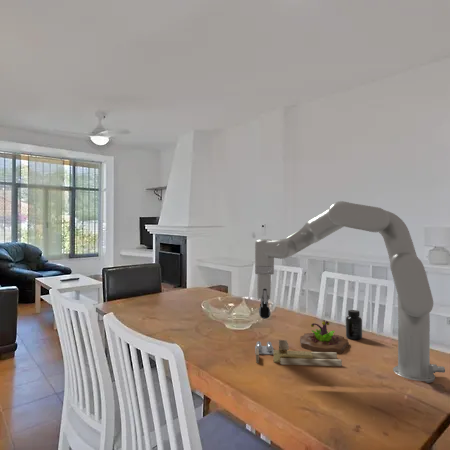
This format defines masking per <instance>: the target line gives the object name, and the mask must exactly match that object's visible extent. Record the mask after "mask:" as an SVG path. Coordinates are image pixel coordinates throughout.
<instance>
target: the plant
mask: <svg viewBox="0 0 450 450" xmlns="http://www.w3.org/2000/svg"><path fill="white" fill-rule="evenodd" d="M321 325H322V326H321ZM321 325H320V324H318V323H316V322H315V323H311V324H310V326H311V328H314V327H315V326H317V327H318V328H319V329H318V328H315V330H311V332H309V333H304V335H301V336H300V337H299V342H300V347H301V348H303V349H306V350H309V351H310V352H336V353H337V355H338V354H343V353H344V351H345V350H346V349H347V348H349V347H350V346H349V345H350V343H349V341H348V338H345V337H344V336H343V335H338V334H334V333H335V332H336V331H335V330H331V331H328V329H327V326H330V322H329V321H327V320H326V321H325V319H323V320H322V321H321Z"/></svg>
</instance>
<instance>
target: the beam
mask: <svg viewBox="0 0 450 450" xmlns="http://www.w3.org/2000/svg"><path fill="white" fill-rule="evenodd" d="M289 349H290V346H289V343H288V340H287V339H278V350H287V351H290V350H289ZM311 352H312V355H313V359H306V358H280V365H290V366H291V365H292V366H293V365H294V366H327V367H328V366H329V367H330V366H331V367H342V366H343V361H342V359H341V358H340V359H338V353H336V352H315V351H311ZM255 363H257V364H259V363H260V354H259V349H256V354H255Z"/></svg>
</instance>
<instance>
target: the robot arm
mask: <svg viewBox="0 0 450 450" xmlns="http://www.w3.org/2000/svg"><path fill="white" fill-rule="evenodd" d="M344 227H345V228H350V229H356V230H360V231H366V232H371V233H379V234H380V235H381V236H382V239H383V241H384V246H385V248H386V251H387V254H388V259H389V265H390V266H389V267H390V271H391V274H392V279H393V282H394V285H395V289H396V290H395V291H396V294H397V316H398V317H397V319H398V321H397V323H398V324H397V327H398V328H397V341H398V342H397V352H398V353H397V365H395V366H394V367H393V368H392V371H393V372H394V373H395V374H396V375H398V376H400V377H402V378H404V379H407V380H412V381H417V382H425V383H427V384H430V383H433V382H434V381H435V380H436V377H435V374H436V373H445V372H446V368H445V367H444V366H439V365H437V364H436V363H435V364H432V363H430V362H431V361H430V360H431V359H430V357H431V354H430V353H431V352H430V347H431V346H430V344H431V341H430V340H431V339H430V338H431V337H430V336H431V334H430V331H431V330H430V329H431V327H430V326H431V325H430V324H431V320H430V319H431V318H430V313H431V312H432V310H433V307H434V298H433V297H434V296H433V294H432V291H431V287H430V283H429V280H428V276H427V272H426V270H425V266H424V264H423V262H422V260H421V259H420V258H419V257H418V255H417V252H416V250H415V249H416V248H415V245H414V242H413V239H412V236H411V233H410V230H409V228H408V226H407V224H406V223H405V222H404V220H403V219H402V218H400V216H398V215H396V213H393V212H391V211H389V210H385V209H384V208H381V207H377V206H371V205H366V204H359V203H353V202H349V201H343V200H340V201H336V202H333V204H331V205H330V207H329V208H328V209H326V210H324V211H323V212H321V213H319V214H318V215H316V216H315V217H313V218H311V219H309V220H308V221H307V222H305V224H303V226H302V227H300V229H299V230H297V231H296V232H293V233H292V234H291V235H289V236H288V237H285V238H282V239H273V240H272V239H269V238H267V239H266V238H265V239H263V238H262V239H260V238H259V239H256V241H255V243H254V259H255V261H254V270H255V271H254V273H255V275H257V281H256V282H257V283H256V284H257V285H256V289H257V291H256V294H257V295H256V297H257V300H260V304H259V307H260V306H261V317H263V318H267V319H269V318H270V317H269V309H270V307H269V300H270V299H271V294H272V293H271V289H272V276H273V275H275V259H279V260H284V259H287V258H290V257H292V256H294V255H296V254H298V253H299V252H301V251H303V250H304V249H306V248H308V247H310V246H311V245H313V244H316V243H318V242H320V241H321V240H323V239H325V238H327V237H328V236H330V235H332V234H333V233H335V232H337V231H339V230H341V229H342V228H344ZM261 317H260V318H261ZM268 317H269V318H268ZM263 318H262V319H263Z"/></svg>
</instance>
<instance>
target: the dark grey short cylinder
mask: <svg viewBox="0 0 450 450" xmlns="http://www.w3.org/2000/svg"><path fill="white" fill-rule="evenodd" d="M258 314H259V316H260V318H262V320H263V319H264V320H265V319H269V318H270V316H271V309H270V308H269V317H268V318H263V317H261V306H260V305H259V308H258Z"/></svg>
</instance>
